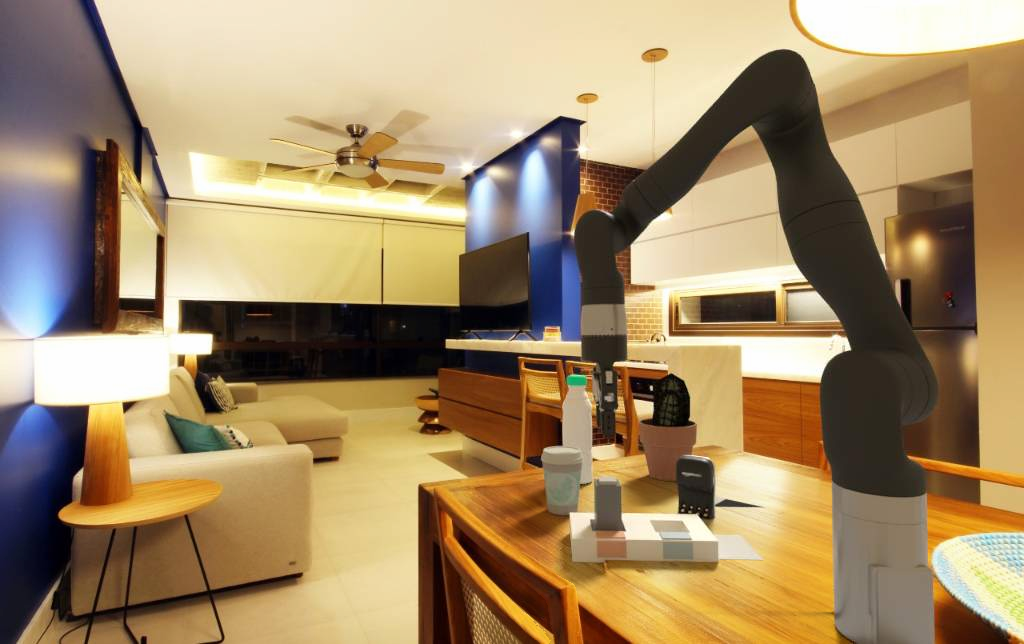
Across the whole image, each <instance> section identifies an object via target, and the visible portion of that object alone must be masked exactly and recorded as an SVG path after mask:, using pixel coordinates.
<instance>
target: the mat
mask: <svg viewBox="0 0 1024 644" xmlns="http://www.w3.org/2000/svg"><path fill="white" fill-rule="evenodd" d="M713 535H714V536H715V538H716V539H717V540H718V560H729V561H730V560H731V561H732V560H734V561H735V560H736V561H737V560H738V561H739V560H740V561H741V560H742V561H764V559H763V558H762V556H761V555H759V553H758V552H757V551H756V550H755V549H754V548H753V547H752V546H751V545H750V543H749V542H748V541H747V540H746V539H745V538H744V537H743V536H742V535H740V534H713Z"/></svg>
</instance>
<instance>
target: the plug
mask: <svg viewBox="0 0 1024 644" xmlns="http://www.w3.org/2000/svg"><path fill="white" fill-rule="evenodd" d="M593 490H594V491H593V492H594V493H593V494H594V495H593V497H594V498H593V499H594V500H593V501H594V502H593V503H594V506H593V507H594V512H593V513H595V531H622V513H623V512H622V511H623V510H622V509H623V508H622V485H621V483H620V480H619V478H618V479H617V478H616V476H597V478H593Z"/></svg>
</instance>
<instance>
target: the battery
mask: <svg viewBox="0 0 1024 644" xmlns="http://www.w3.org/2000/svg"><path fill="white" fill-rule="evenodd" d="M675 484H676V485H677V492H678V504H677V505H678V507H677V512H678V513H677V514H697V515H698V516H699V517H700V519H701V520H702V519H703V520H713V519H714V518H715V517H716V507H715V498H716V486H717V484H716V466H715V463H714V461H713V460H712V459H711V458H709V457H706V456H700V455H699V456H698V455H693V454H691V455H683V456H681V457H680V458H679V459H678V460H677V462H676V481H675Z"/></svg>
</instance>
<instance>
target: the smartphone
mask: <svg viewBox="0 0 1024 644" xmlns="http://www.w3.org/2000/svg"><path fill="white" fill-rule="evenodd" d="M715 508H763V506H762V505H756V504H753V503H752V504H751V503H747V502H743V501H739V500H733V499H728V498H725V497H720V496H715ZM765 508H767V507H765V506H764V509H765Z"/></svg>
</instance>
